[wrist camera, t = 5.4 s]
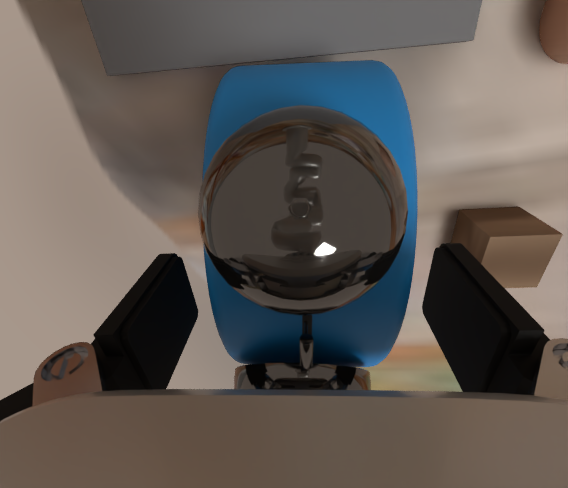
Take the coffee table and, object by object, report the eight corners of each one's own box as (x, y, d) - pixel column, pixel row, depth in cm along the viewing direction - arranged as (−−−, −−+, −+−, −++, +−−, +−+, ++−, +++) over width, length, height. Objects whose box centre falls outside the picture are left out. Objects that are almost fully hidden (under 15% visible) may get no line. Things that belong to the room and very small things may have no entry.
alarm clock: (341, 255, 23) (390, 490, 10) (265, 255, 23) (219, 480, 10) (357, 63, 16) (573, 36, 3) (249, 67, 16) (65, 60, 4)
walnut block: (458, 209, 20) (490, 236, 17) (518, 206, 20) (562, 234, 17) (446, 255, 22) (472, 288, 19) (500, 253, 22) (536, 287, 19)
